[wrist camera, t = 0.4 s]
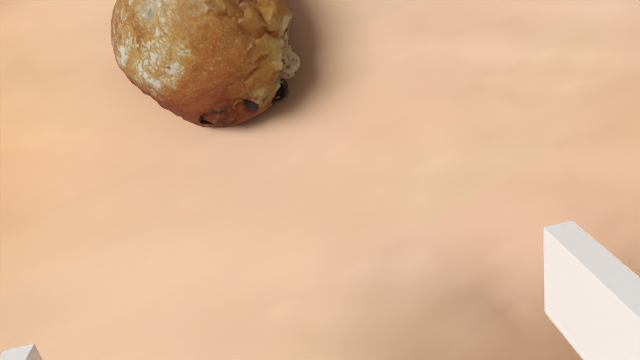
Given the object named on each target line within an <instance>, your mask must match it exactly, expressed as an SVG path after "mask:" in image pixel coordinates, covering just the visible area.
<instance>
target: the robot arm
mask: <svg viewBox="0 0 640 360" xmlns="http://www.w3.org/2000/svg"><path fill="white" fill-rule="evenodd" d="M544 297H545V313H546V314H547V316H548V317H549V318H550V319H551V321H552V322H553V323H554V324H555V325H556V327H557V328H558V329H559V330H560V332H561V333H562V334H563V335H564V337H565V338H566V339H567V340H568V342H569V343H570V344H571V345H572V346H573V348H574V349H575V350H576V351H577V353H578V354H579V355H580V356H581V358H582V359H583V360H640V277H639V276H637V275H636V274H635V273H634V272H633V271H632V270H630V269H629V268H628V267H627V266H626V265H624V264H623V263H622V262H621V261H620V260H618V259H617V258H616V257H615V256H614V255H613V254H611V253H610V252H609V251H608V250H607V249H605V248H604V247H603V246H602V245H601V244H600V243H598V242H597V241H596V240H595V239H594V238H592V237H591V236H590V235H589V234H588V233H586V232H585V231H584V230H583V229H582V228H581V227H579V226H578V225H577V224H576V223H575V222H573V221H568V222H564V223H559V224H555V225H550V226H546V227H544ZM0 360H42V358H41V356H40V354H39V352H38V350H37V348H36V346H35V344H31V345H26V346H22V347H17V348H13V349H9V350H4V351H3V352H2V354H1V355H0Z"/></svg>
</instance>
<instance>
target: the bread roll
mask: <svg viewBox="0 0 640 360" xmlns="http://www.w3.org/2000/svg"><path fill="white" fill-rule="evenodd" d="M293 15H294V14H293V12H292V11H290V9H289V8H288V7H287V5H286V3H285V0H117V1H116V3H115V6H114V10H113V13H112V20H111V38H112V46H113V50H114V54H115V57H116V61H117V63H118V65H119V68H120V69H121V70H122V71H123V72H124V73H125V74H126V76H127V78H128V79H129V80H130V81H131V82H132V83H133V84H134V85H135V86H137V87H138V88H139V89H140V90H141V91H142V92H143V93H144V94H146V95H149V96H151V97H152V98H153V99H154V100H155V101H157V102H158V103H159V104H160V106H161V107H162V108H164V109H167V110H169V111H171V112H172V113H174V114H175V115H177V116H180V117H182V118H183V119H184V120H186V121H189V122H191V123H194V124H196V125H199V126H202V127H212V126H224V127H229V126H234V125H237V124H240V123H243V122H245V121H246V120H248V119H250V118H252V117H255V116H258V115H260V114H261V113H262V112H264V111H265V110H267V109H268V108H269V107H270V105H271V104H272V105H273V104H274V103H275V102H278V101H281V100H283V99H285V98H287V94H288V93H289V92H288V86H287V82H286V81H285V79H287V78H292V77H294V76H295V73H296V72H297V71H298V69H299V67H300V65H301V64H300V58H299V56H297V55H296V54H295V53H294V52H293V51H292V49H291V46H290V44H289V43H288V39H289V37H290V34H291V28H290V27H291V25H292V18H293Z"/></svg>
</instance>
